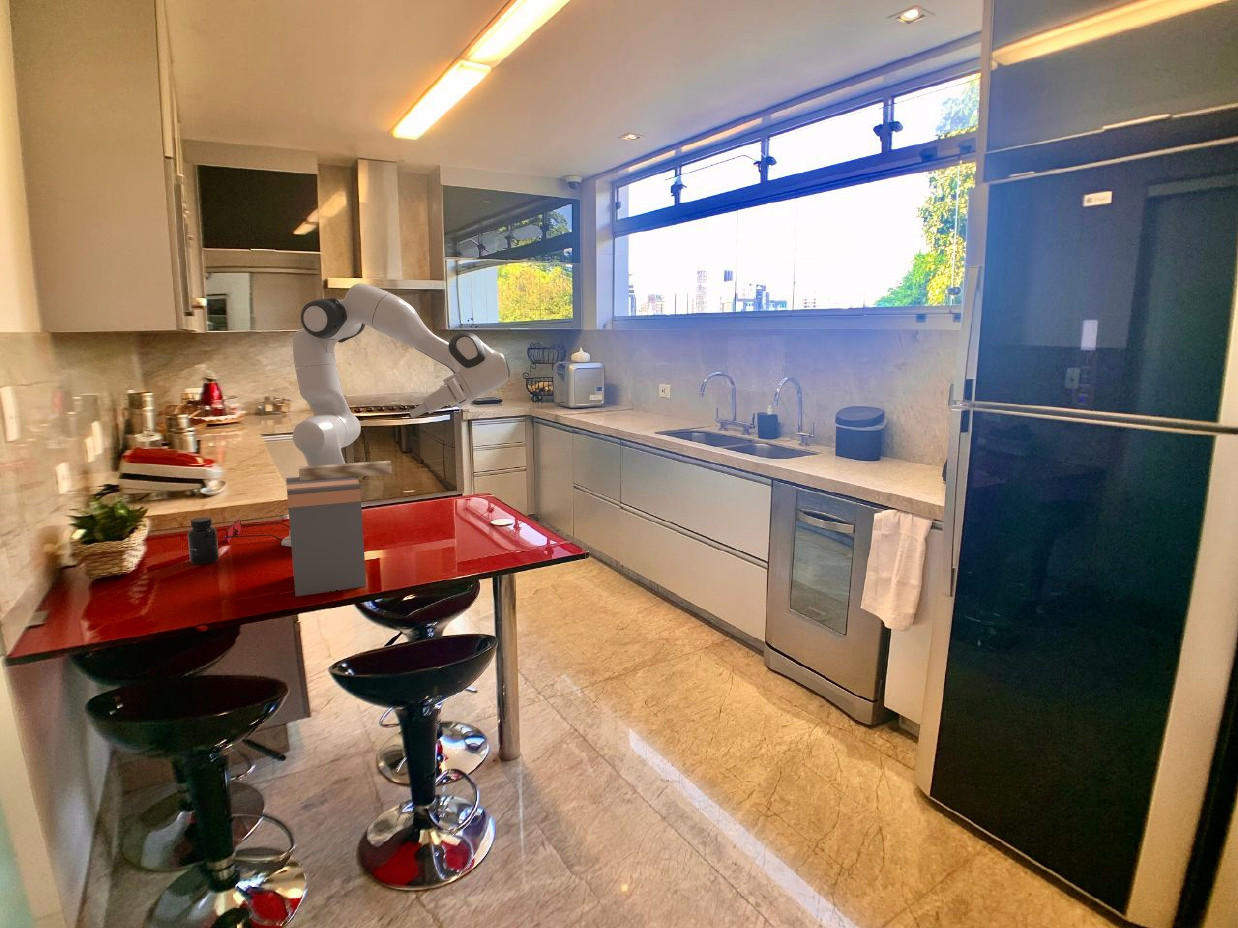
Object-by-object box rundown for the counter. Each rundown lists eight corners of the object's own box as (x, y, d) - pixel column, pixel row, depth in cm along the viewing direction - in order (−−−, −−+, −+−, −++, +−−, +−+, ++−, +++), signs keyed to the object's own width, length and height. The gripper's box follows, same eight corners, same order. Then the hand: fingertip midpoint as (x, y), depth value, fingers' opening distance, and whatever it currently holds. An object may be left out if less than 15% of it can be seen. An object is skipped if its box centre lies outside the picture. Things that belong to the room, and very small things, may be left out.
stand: (359, 567, 183) (353, 472, 178) (366, 586, 169) (360, 484, 164) (293, 575, 176) (285, 477, 171) (295, 596, 162) (286, 490, 157)
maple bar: (390, 471, 180) (389, 460, 180) (392, 473, 178) (391, 462, 177) (299, 478, 171) (298, 466, 170) (299, 480, 168) (298, 468, 168)
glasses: (238, 532, 214) (236, 517, 214) (294, 529, 218) (293, 515, 217) (223, 545, 201) (222, 529, 200) (284, 542, 205) (282, 526, 204)
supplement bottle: (186, 566, 182) (181, 523, 180) (195, 558, 188) (190, 516, 186) (215, 564, 184) (210, 521, 182) (222, 556, 190) (218, 515, 188)
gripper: (448, 384, 195) (405, 406, 192) (452, 377, 176) (403, 403, 173) (459, 403, 196) (416, 426, 193) (464, 399, 177) (416, 424, 174)
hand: (410, 415), depth 183 cm, fingers open, 8 cm apart
